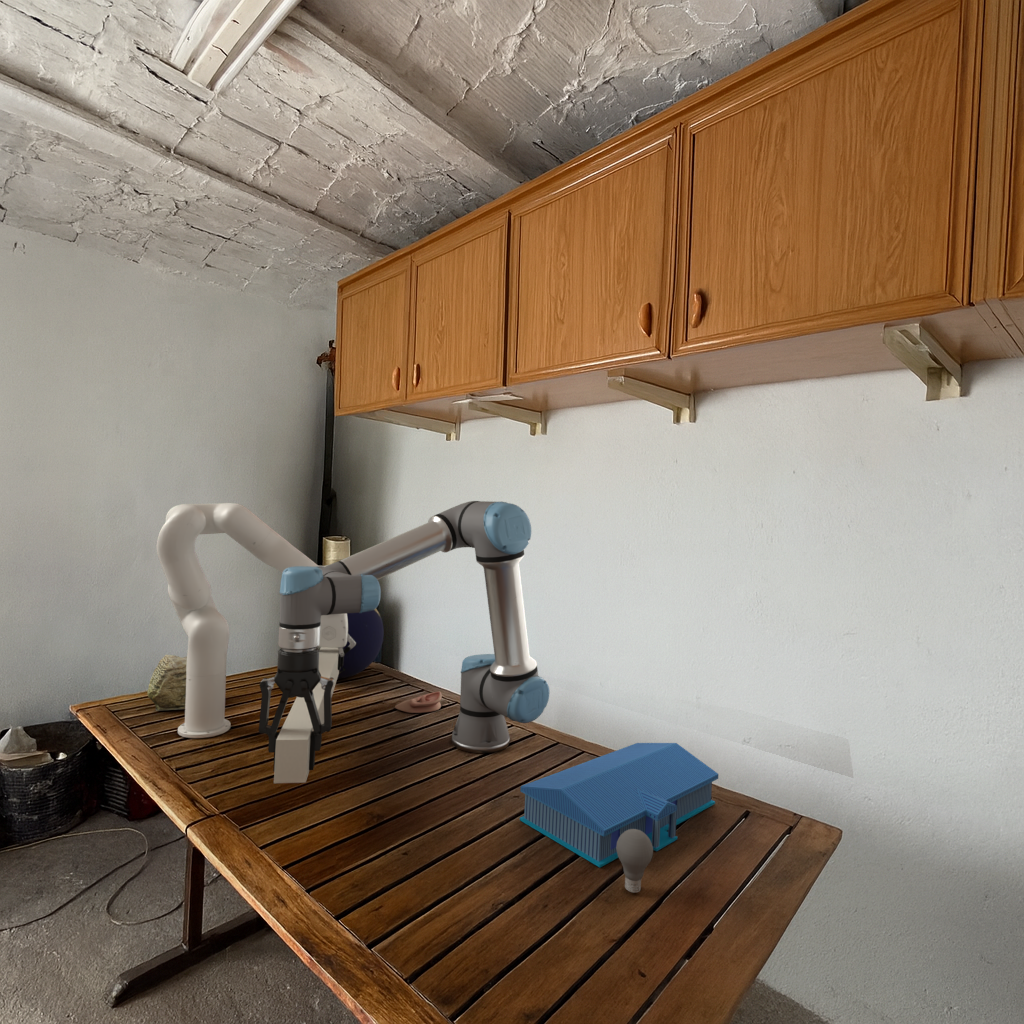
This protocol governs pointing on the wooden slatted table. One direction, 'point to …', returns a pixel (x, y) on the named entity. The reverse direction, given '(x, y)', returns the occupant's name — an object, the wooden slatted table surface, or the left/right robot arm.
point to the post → (302, 727)
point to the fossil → (169, 683)
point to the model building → (619, 799)
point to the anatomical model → (421, 703)
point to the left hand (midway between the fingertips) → (327, 668)
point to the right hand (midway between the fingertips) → (294, 767)
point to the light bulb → (634, 857)
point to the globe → (362, 642)
